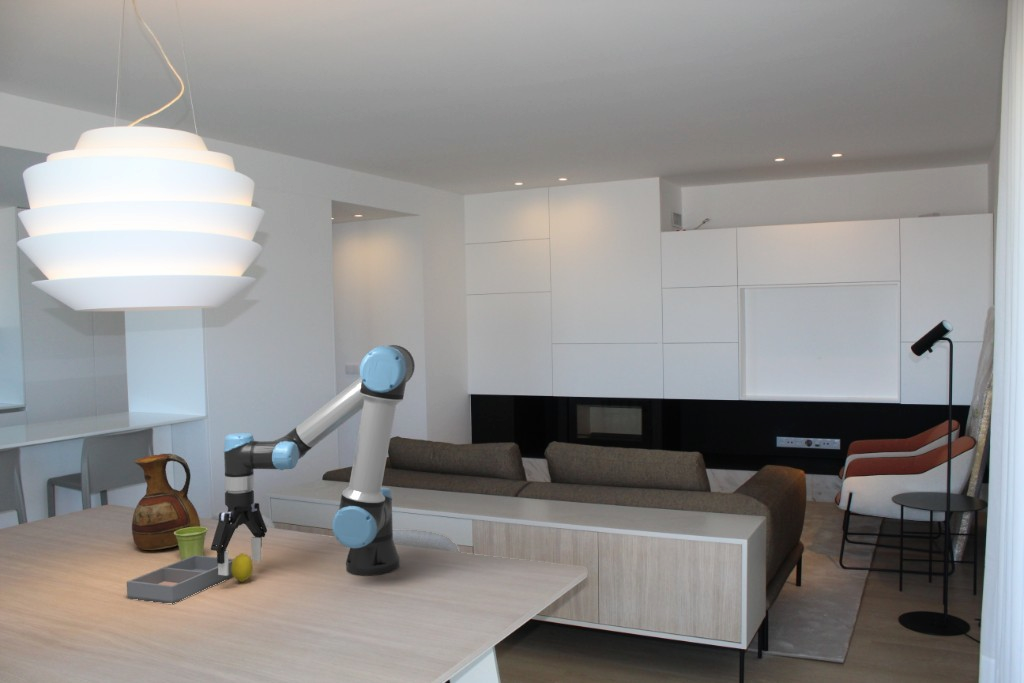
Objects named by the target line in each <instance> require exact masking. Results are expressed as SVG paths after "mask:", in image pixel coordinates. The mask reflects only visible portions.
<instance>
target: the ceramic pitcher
mask: <svg viewBox="0 0 1024 683" xmlns="http://www.w3.org/2000/svg"><path fill="white" fill-rule="evenodd" d="M168 462H177V463H179V464H180V465H181V467H182V468H183V469H184V472H185V482H184V485H183V487H182V489H181V490H178V489H175V488H173V487H172V486H171V484H170V483H169V480H168V477H167V471H166V470H167V464H168ZM134 463H135V464H136V465H138V466H140V468H142V470H143V474H144V476H143V477H144V480H145V482H146V491H145V495H143V497H142V498H141V499H140V500H138V501H139V502H138V503H137V505H136V507H135V509H134V512H133V516H132V521H131V531H132V539H133V542H134V544H135V546H136V548H138V549H141V550H144V551H146V550H148V551H155V550H163V549H167V548H168V549H169V548H173V547H176V546H179V545H178V540H177V539H176V535H174V532H175V531H177V530H180V529H183V528H189V527H201V520H200V517H199V514H198V511H197V509H196V508H195V505H194V504H193V502H191V500H190V499H189V497H188V494H189V488H190V483H191V470H190V467H189V465H188V463H187V461H186V460H185V459H184V458H183V457H181V456H179V455H177V454H172V453H160V454H153V455H149V456H144V457H141V458H138V459H136V460H135V461H134Z"/></svg>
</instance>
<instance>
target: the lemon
mask: <svg viewBox="0 0 1024 683" xmlns="http://www.w3.org/2000/svg"><path fill="white" fill-rule="evenodd" d="M233 559H234V560H233V562H232V566H231V572H232V575H233V578H234V579H235V580H236V581H239V582H240V583H245V581H246V580H247V579H249V578H250V577H251V575H252V573H253V567H254V566H253V560H252V558H251V557H250V556H248V555H247V554H244V553H239V554H238V555H236V556H235V557H234V558H233Z"/></svg>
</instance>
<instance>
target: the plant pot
mask: <svg viewBox="0 0 1024 683" xmlns="http://www.w3.org/2000/svg"><path fill="white" fill-rule="evenodd" d="M207 531H208V527H207V526H206V527H204V526H200V527H189V528H183V529H180V530H177V531H175V532H174V535H176V539H177V540H178V545H177V546H178V550H179V556H180V561H181V560H183V559H186V558H189V557H191V556H194V555H200V556H204V547H205V539H206V538H205V537H206V535H207Z"/></svg>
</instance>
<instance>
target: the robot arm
mask: <svg viewBox="0 0 1024 683" xmlns="http://www.w3.org/2000/svg"><path fill="white" fill-rule="evenodd" d="M415 366H416V365H415V360H414V356H413V355H412V353H411V352H410V351H409V350H408V349H407V348H405V347H403V346H401V345H396V344H395V345H394V344H391V345H390V344H389V345H381V346H377V347H375V348H372V349H371V350H370V351H369V352H367V353H366V355H365V356H364V357H363V358H362V360H361V362H360V366H359V378H357V379H356V380H355V381H354V382H352V383H351V384H350V385H348V386H347V387H346V388H345V389H343V390H342V391H341V392H339V393H338V394H336V396H334V397H333V398H331V400H329V401H328V402H326V403H325V404H324V405H322V406H321V407H320V408H318V409H317V411H315V412H314V413H312V414H311V415H310V416H308V417H307V418H306V419H305V420H304V421H302V422H301V423H300V424H299V425H297V426H296V427H295V428H293V429H292V430H291V431H289V432H288V433H287V434H285V435H284V436H282V437H279V438H278V439H275V440H272V441H271V440H269V441H259V440H254V439H255V438H254V435H253V434H252V433H250V432H248V433H247V432H236V433H235V432H234V433H230V434H228V435H226V436H225V438H224V445H223V447H224V448H223V453H224V456H223V457H224V460H223V461H224V486H225V487H224V490H225V492H224V504H225V507H227V512H219V514H218V523H217V525H216V530H215V532H214V536H213V539H212V543H211V545H210V550H211V551H216V557H217V563H218V575H225V576H227V575H229V574H228V558H229V550H227V548H228V546H229V544H230V542H231V540H232V537H233V536H234V533H235V531H236V529H238V527H240V526H242V525H243V524H245V525H246V526H245V527H247V529H248V530H249V531H250V533H251V534H252V535H253V536H252V537H251V538H250V540H251V541H250V542H251V543H250V544H251V545H250V546H251V547H250V548H251V561H252V562H253V561H254V562H255V561H256V562H261V561H262V546H263V543H262V541H263V538H265V537H266V533H267V532H268V530H267V526H266V524H265V520H264V518H263V516H262V512H261V510H260V504H259V502H255V492H254V490H253V489H254V488H255V478H254V477H255V474H254V470H279V471H284V470H293V469H294V468H296V466H297V464H298V463H299V460H300V459H301V458H303V457H304V456H305V455H306V454H307V453H308V452H309V451H310V450H312V448H314V447H315V446H317V445H318V444H319V443H320V442H321V441H323V440H324V439H325V438H327V437H328V436H330V434H333V433H334V432H335V431H336V430H337V429H338V428H340V427H341V426H342V425H344V424H345V423H347V421H349V420H350V419H351V418H352V417H354V416H355V415H357V414H358V413H359V412H360V411H362V412H361V418H360V422H359V428H358V434H357V439H356V443H355V444H356V445H355V451H354V456H353V462H352V469H351V474H350V478H349V484H348V487H346V488H345V489H343V490H342V493H341V497H340V501H339V503H340V504H339V508H338V511H337V512H336V513H335V515H334V517H333V520H332V524H331V527H332V534H333V536H334V538H336V540H337V541H338V542H339V543H340V544H341V545H342V546H344V547H347V548H349V551H348V554H347V557H346V560H345V561H346V562H345V569H346V571H347V572H348V573H350V574H352V575H356V576H376V575H377V576H378V575H383V574H387V573H391V572H393V570H394V571H395V569H396V570H397V569H399V568H400V565H401V564H400V563H401V562H400V556H399V554H398V550H397V548H396V544H395V542H394V537H393V534H394V533H393V531H394V530H393V496H392V490H391V489H390V488H389V487H382V486H383V480H384V474H385V471H386V470H385V469H386V463H387V458H388V452H389V449H390V448H389V447H390V441H391V436H392V430H393V424H394V419H395V415H396V414H395V413H396V409H397V408H396V407H397V405H398V404H400V403H401V402H402V401H403V400H404V395H405V390H406V385H407V382H409V381H410V380H411V379H412V377H413V375H414V373H415V368H416V367H415ZM398 567H399V568H398Z"/></svg>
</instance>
